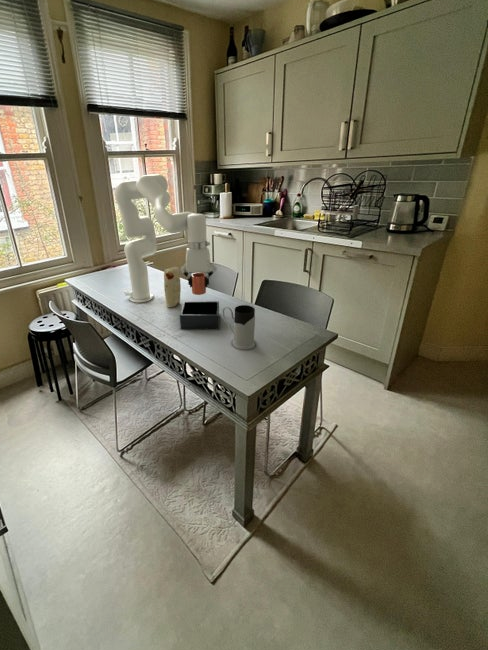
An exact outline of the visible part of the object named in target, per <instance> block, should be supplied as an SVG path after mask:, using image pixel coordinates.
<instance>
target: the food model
mask: <svg viewBox="0 0 488 650" xmlns="http://www.w3.org/2000/svg"><path fill="white" fill-rule="evenodd" d="M180 275H181V274H180V268H179V267H178V266H173V267H170V268H165V269H164V270H163V289H164V297H165V303H166V307H167V308H173V307H176V306H179V305H180V303H181V292H182V291H181V289H182V286H181V276H180Z"/></svg>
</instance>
